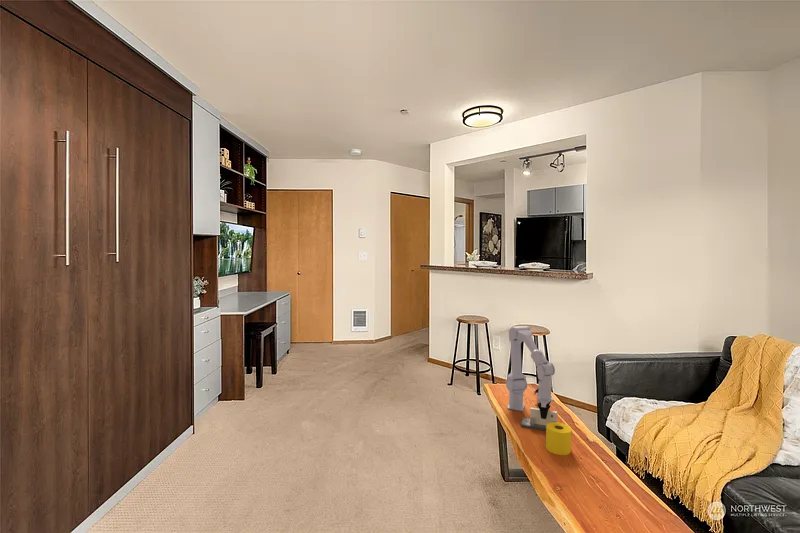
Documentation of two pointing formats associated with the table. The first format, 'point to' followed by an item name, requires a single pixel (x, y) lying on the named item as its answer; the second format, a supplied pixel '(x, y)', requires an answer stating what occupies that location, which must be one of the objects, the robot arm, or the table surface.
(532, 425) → the rail
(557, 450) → the tape roll
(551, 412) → the cabinet door
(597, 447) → the table surface
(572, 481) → the table surface
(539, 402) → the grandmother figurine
